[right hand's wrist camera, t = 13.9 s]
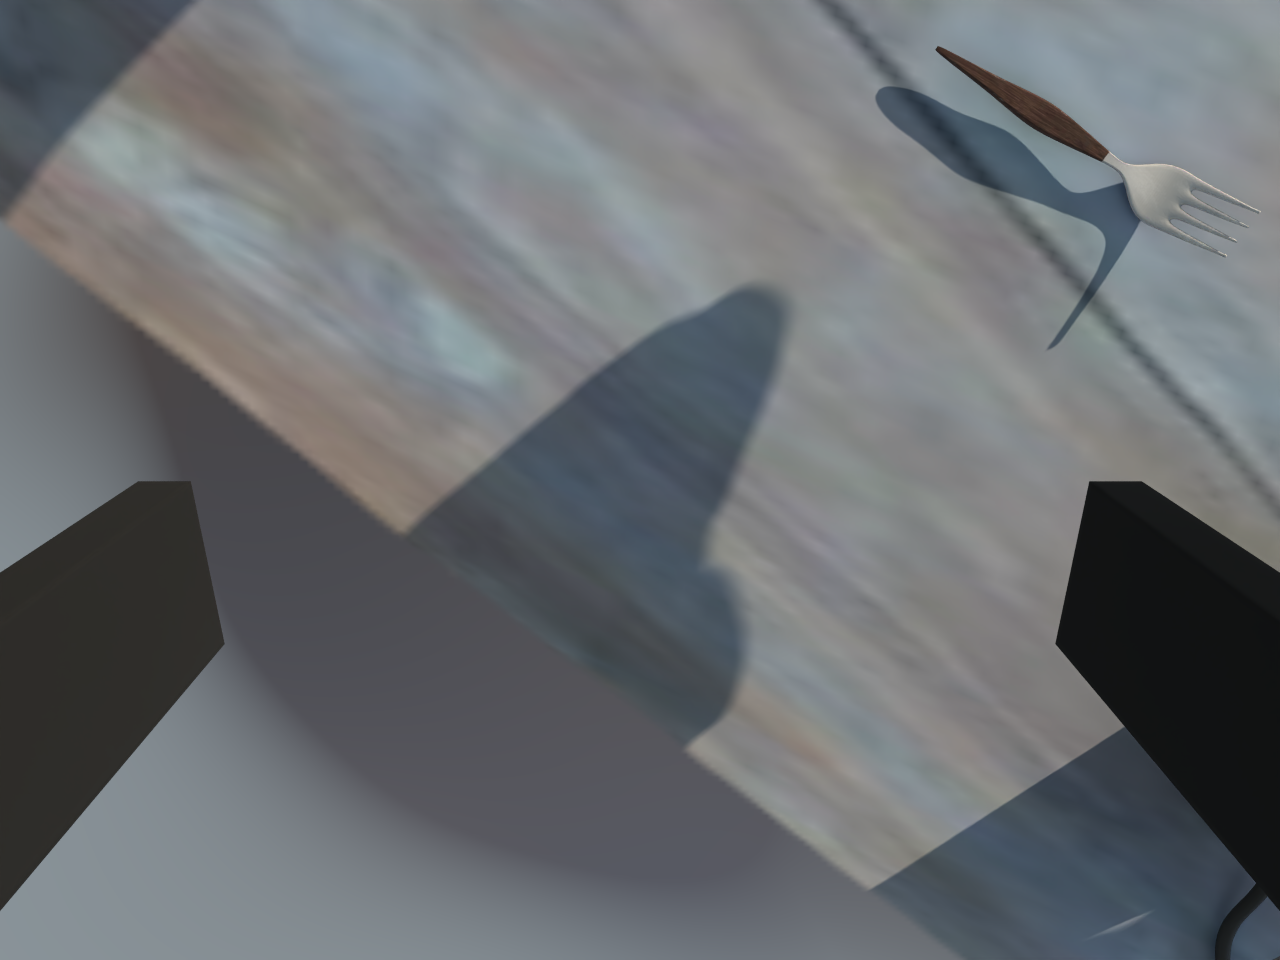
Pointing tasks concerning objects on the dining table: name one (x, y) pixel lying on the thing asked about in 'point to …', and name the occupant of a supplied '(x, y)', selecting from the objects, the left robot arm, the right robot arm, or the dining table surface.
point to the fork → (1110, 159)
